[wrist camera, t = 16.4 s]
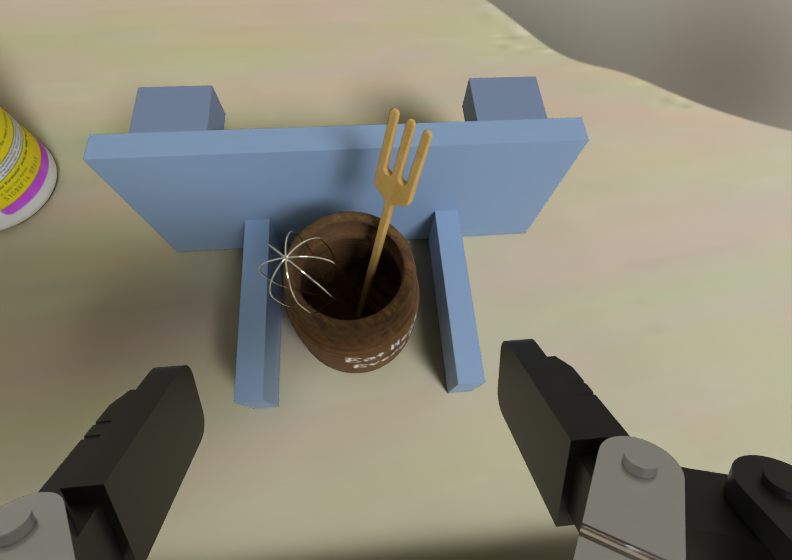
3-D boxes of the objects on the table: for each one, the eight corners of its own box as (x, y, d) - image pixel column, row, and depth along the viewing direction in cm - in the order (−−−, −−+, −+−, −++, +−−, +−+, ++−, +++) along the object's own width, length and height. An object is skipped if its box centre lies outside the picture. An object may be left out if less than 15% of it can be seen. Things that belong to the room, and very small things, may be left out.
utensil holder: (277, 328, 22) (173, 202, 11) (355, 246, 24) (337, 69, 13) (362, 401, 21) (346, 345, 9) (437, 308, 23) (497, 172, 11)
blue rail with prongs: (559, 384, 21) (656, 349, 14) (156, 416, 20) (24, 397, 12) (513, 182, 26) (568, 75, 18) (184, 197, 25) (100, 88, 17)
